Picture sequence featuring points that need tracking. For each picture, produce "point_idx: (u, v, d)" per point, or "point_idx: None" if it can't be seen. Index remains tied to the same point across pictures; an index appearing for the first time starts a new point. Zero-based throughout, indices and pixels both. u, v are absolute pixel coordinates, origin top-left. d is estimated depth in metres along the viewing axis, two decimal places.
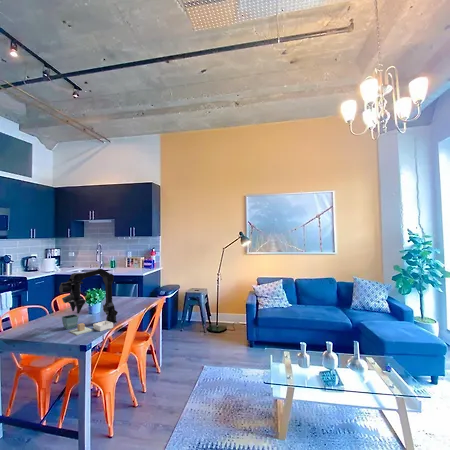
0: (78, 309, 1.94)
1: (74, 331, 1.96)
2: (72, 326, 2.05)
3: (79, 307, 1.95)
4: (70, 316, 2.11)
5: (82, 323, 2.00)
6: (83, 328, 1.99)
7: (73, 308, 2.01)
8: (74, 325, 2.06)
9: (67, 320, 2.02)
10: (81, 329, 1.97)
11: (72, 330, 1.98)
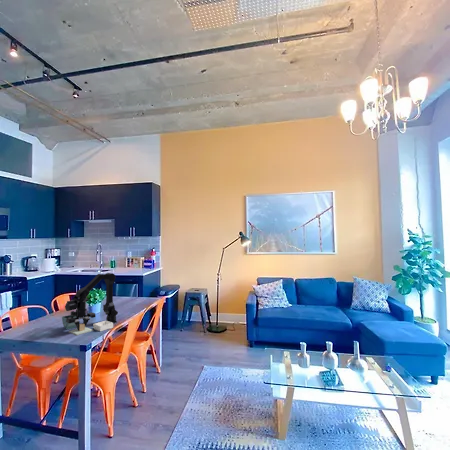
0: (76, 326, 1.97)
1: (74, 331, 1.96)
2: (72, 326, 2.05)
3: (76, 324, 1.96)
4: (70, 316, 2.11)
5: (82, 323, 2.00)
6: (83, 328, 1.99)
7: None
8: (74, 325, 2.06)
9: None
10: (81, 329, 1.97)
11: (72, 330, 1.98)
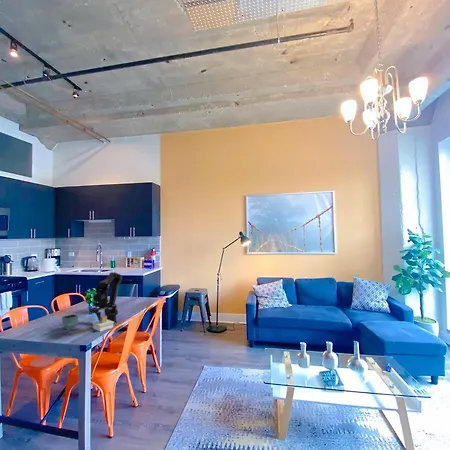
0: (97, 316, 2.02)
1: (97, 323, 2.03)
2: (72, 326, 2.05)
3: (98, 315, 2.02)
4: (70, 316, 2.11)
5: (104, 315, 2.07)
6: (105, 320, 2.05)
7: (107, 316, 2.08)
8: (74, 325, 2.06)
9: (67, 320, 2.02)
10: (103, 321, 2.04)
11: (95, 322, 2.05)
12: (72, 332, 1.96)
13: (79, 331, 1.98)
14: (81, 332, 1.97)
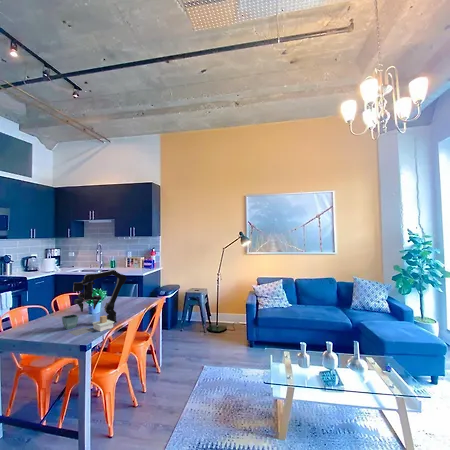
0: (80, 308, 2.07)
1: (97, 323, 2.03)
2: (72, 326, 2.05)
3: (80, 306, 2.07)
4: (70, 316, 2.11)
5: (104, 315, 2.07)
6: (105, 320, 2.05)
7: (93, 306, 2.15)
8: (74, 325, 2.06)
9: (67, 320, 2.02)
10: (103, 321, 2.04)
11: (95, 322, 2.05)
12: (72, 332, 1.96)
13: (79, 331, 1.98)
14: (81, 332, 1.97)
